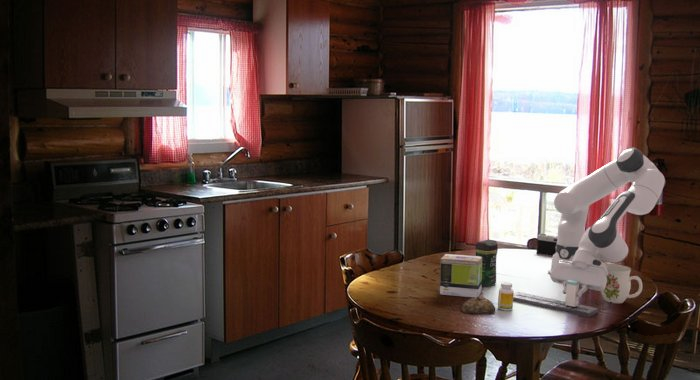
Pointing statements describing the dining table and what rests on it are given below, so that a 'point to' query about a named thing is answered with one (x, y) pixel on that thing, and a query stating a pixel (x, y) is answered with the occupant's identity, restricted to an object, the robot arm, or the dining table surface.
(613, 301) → the pitcher
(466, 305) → the bread roll
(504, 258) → the dining table surface
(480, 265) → the tea box
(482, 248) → the coffee jar
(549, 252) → the camera
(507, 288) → the supplement bottle
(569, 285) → the fader knob
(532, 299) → the fader track
